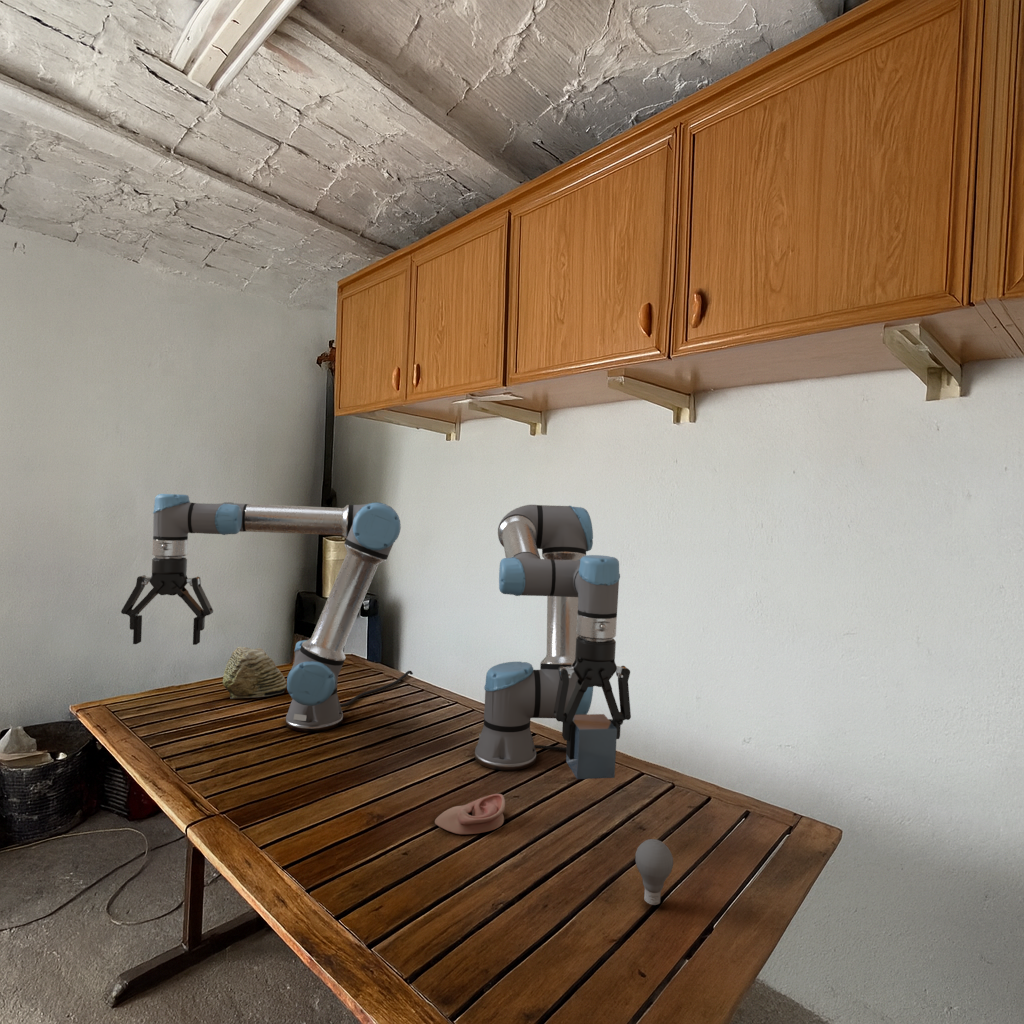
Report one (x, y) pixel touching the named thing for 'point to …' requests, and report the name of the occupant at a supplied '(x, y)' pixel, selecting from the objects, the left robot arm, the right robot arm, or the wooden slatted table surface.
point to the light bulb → (653, 868)
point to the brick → (593, 747)
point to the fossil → (252, 674)
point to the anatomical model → (474, 816)
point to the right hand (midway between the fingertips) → (590, 755)
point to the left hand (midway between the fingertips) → (166, 643)
